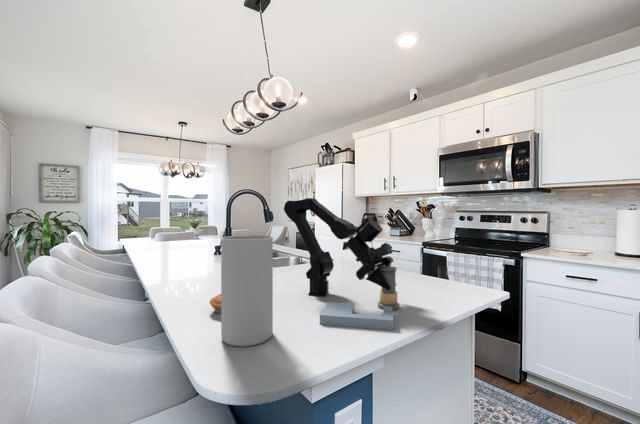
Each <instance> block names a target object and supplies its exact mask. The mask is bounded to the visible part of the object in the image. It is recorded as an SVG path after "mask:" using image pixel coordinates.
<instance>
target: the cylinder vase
mask: <svg viewBox="0 0 640 424" xmlns="http://www.w3.org/2000/svg"><path fill="white" fill-rule="evenodd" d="M273 240H274V239H273V236H272V235H263V234H262V235H260V234H259V235H257V234H254V235H248V234H246V235H231V236H230V235H229V236H223V237H221V238H220V241H221V242H220V244H221V245H220V250H221V253H220V255H221V257H220V259H221V261H220V262H221V264H220V265H221V267H220V269H221V270H220V271H221V273H220V274H221V276H220V277H221V279H220V280H221V282H220V284H221V285H220V286H221V288H220V289H221V291H220V292H221V293H220V294H221V315H220V319H221V320H220V321H221V323H220V324H221V328H220V329H221V331H220V333H221V340H222V341H223V342H224V343H225V344H227V345H229V346H233V347H251V346H256V345H260V344H263V343H265V342H266V341H267V340H269V339H270V338H271V337H272V335H273V333H274V332H273V331H274V327H273V326H274V324H273V321H274V319H273V318H274V317H273V316H274V315H273V314H274V313H273V312H274V309H273V304H274V302H273V300H274V299H273V296H274V294H273V293H274V292H273V290H274V289H273V284H274V283H273V282H274V281H273V278H274V277H273V276H274V275H273V274H274V273H273V271H274V270H273V267H274V266H273V265H274V264H273V263H274V261H273V258H274V257H273V255H274V253H273V252H274V251H273V247H274V246H273V244H274V242H273Z"/></svg>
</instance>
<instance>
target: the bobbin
mask: <svg viewBox="0 0 640 424" xmlns="http://www.w3.org/2000/svg"><path fill="white" fill-rule="evenodd" d="M381 270H382V275H383V276H384V278H385V279H386V281H387V282H388V284H389V285H390V287H391V289H390V290H387V289H385V288H383V287H381V290H379V301H378V302H377V307H378V309H380V310H383V311H384V306H392V310H393V312H394V311H397V310H399V309H400V303H399V302H398V291H396V286H395V283H396V271H397V267H395V266H392V265H390V266H383V267H381Z"/></svg>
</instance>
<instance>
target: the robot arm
mask: <svg viewBox="0 0 640 424" xmlns="http://www.w3.org/2000/svg"><path fill="white" fill-rule="evenodd" d="M283 211H284V213H285V215H286V216H287V218H289V220H291V221H292V222H293V223H294V224H295V226H296V228H297V231H298V232H299V235H300V236H301V239H302V241H303V243H304V244H305V247H306V249H307V251H308V253H309V263H310V264H309V265H310V268H309V269H308V270H307V271H306V273H305V275H306V276H305V277H306V279H309V292H308V294H307V295H308V296H320V297H326V295H327V294H328V293H329V289H330V288H329V287H330V285H329V280H328V277H330V275H331V272H332V271H333V270H334V266H335V265H334V264H335V263H334V259H333V258H332V256H331V253H330V251H324V250H323V249H322V248H321V245H320V243H319V242H318V240H317V237H316V236H315V234H314V232H313V229H312V227H311V225H310V223H309V221H308V219H307V211H310V212H311V213H313V214H314V215H315V216H316V217H317V218H319V219H320V220H321V221H323V222H324V223H325V224H326V225H327V226H328V227H329V229H330V231H331V233H332V234H333V236H335V237H336V239H339V240H345V239H346V240H347V239H348V240H347V241H343V242H342V245H343V246H342V250H343V251H344V250H350V251H351V252H352V254H353V255H354V256H355V257H356V258H355V261H356V262H357V263H359V262H360V263H361V264H362V266H360V267H359V268H358V269H357V270H356V271H355V276H356V278H357V279H358V280H359V281H362V280H364V279H365V278H366V279H365V280H366V281H369V282H371V283H373V284H375V285H377V286H379V287H381V288H382V287H383V288H385V289H387V290H390V289H391V287H390V285H389V284H388V282H387V281H386V279H385V278H384V276H383V275H382V270H381V267H383V266H392V263H393V262H394V259H393V258H392V257H391V256H388V255H391V254H393V250H392V249H393V246H392V245H391V244H390V243H388V242H384V243H382V244H381V245H380V246H379V247H377V248H374V247H372V246H371V247H370V246H369V245H368V244H367V243H372V242H373V241H374V240H375V239H376V238H377V237H378V236H379V235H380V233H382V231H383V228H382V226H381V224H380V223H378V222H376V221H375V220H373V219H371V217H365V219H364V220H363V221H362V223H361V224H360V225H359V226H356V225H355V224H353V223H352V222H351V221H348V220H345V219H344V218H341V217H339V216H337V215H336V214H334V213H333V212H332V211H330V210H329V209H328V208H327V207H326V206H325V205H323V204H322V203H320V202H319V201H318V199H316V198H315V197H313V198H311V197H307V198H303V199H298V200H287V201H286V202H285V203H284V206H283ZM366 275H367V277H366ZM396 286H397V283H396V282H395V287H396Z"/></svg>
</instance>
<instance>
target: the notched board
mask: <svg viewBox="0 0 640 424" xmlns="http://www.w3.org/2000/svg"><path fill="white" fill-rule="evenodd" d="M393 312H394V311H393V310H392V306H384V310H383V315H377V314H376V315H374V314H364V313H362V314H361V313H355V303H348V302H347V303H346V302H345V303H343V302H333V301H327V303H326V304H325V306H324V307H323V309H322V311H321V312H320V314H319V325H329V326H341V327H353V328H367V329H379V330H390V331H391V330H394V313H393Z"/></svg>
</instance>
